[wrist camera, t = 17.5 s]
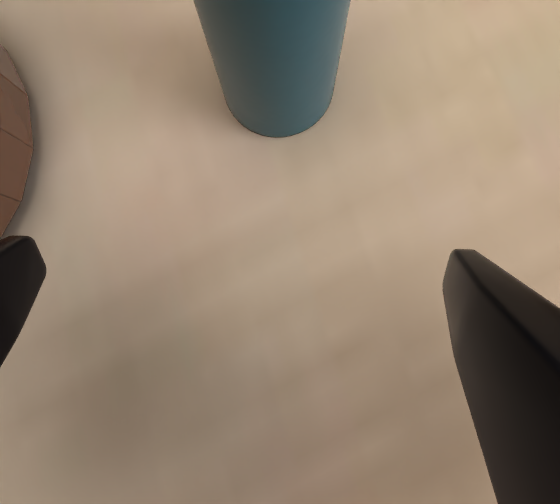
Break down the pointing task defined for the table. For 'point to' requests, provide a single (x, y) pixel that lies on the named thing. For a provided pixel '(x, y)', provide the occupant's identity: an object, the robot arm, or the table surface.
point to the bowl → (13, 139)
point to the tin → (275, 59)
